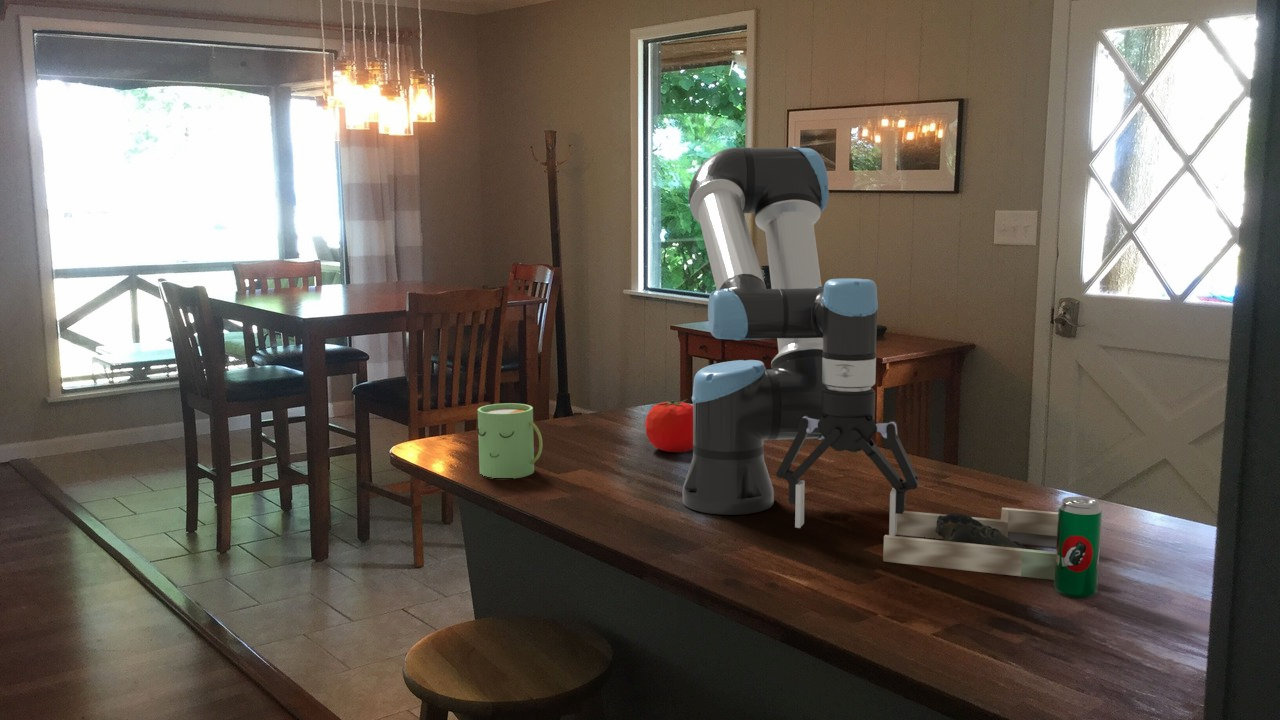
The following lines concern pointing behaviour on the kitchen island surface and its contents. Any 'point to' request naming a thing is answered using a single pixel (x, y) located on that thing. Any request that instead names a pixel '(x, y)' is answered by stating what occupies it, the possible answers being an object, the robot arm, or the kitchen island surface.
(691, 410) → the tomato
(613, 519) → the kitchen island surface
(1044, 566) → the channel
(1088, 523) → the soda can
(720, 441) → the robot arm
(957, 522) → the stone
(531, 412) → the mug
